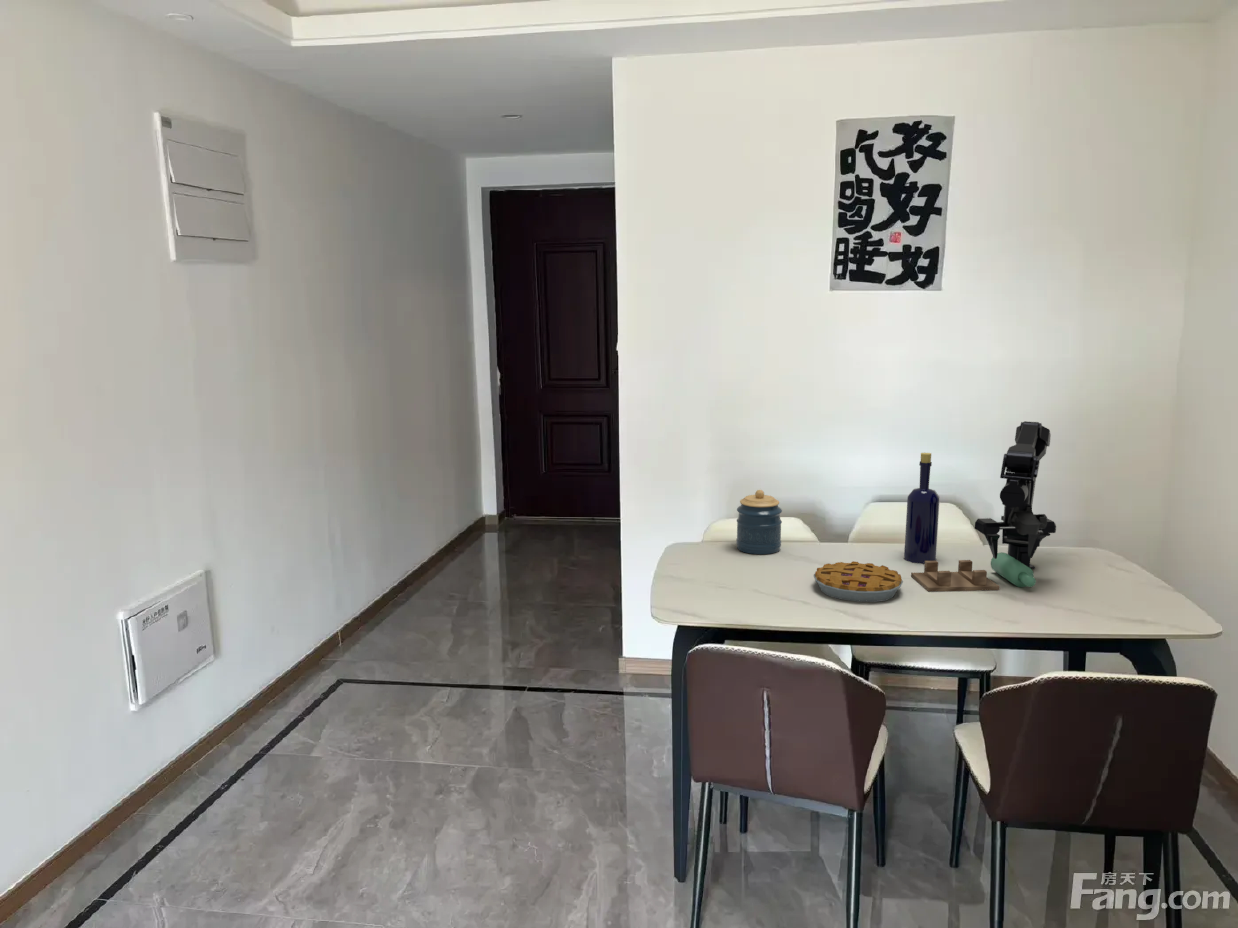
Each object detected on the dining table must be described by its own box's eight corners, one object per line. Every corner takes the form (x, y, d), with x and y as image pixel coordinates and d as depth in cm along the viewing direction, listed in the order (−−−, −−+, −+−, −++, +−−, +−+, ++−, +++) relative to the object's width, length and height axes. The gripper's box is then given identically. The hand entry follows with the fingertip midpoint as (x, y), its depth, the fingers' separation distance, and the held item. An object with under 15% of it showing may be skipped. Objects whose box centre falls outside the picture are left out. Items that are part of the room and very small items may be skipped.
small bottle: (989, 571, 236) (992, 551, 235) (1009, 573, 236) (1013, 553, 235) (1017, 591, 220) (1021, 570, 219) (1039, 593, 220) (1043, 571, 219)
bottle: (942, 563, 243) (948, 456, 238) (908, 563, 244) (914, 456, 238) (931, 554, 252) (937, 450, 247) (898, 554, 253) (904, 450, 247)
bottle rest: (928, 591, 221) (929, 574, 220) (911, 576, 233) (912, 559, 232) (999, 589, 222) (1000, 572, 221) (978, 574, 234) (979, 558, 233)
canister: (787, 546, 261) (789, 488, 258) (770, 557, 250) (772, 496, 247) (747, 540, 268) (748, 483, 265) (728, 551, 257) (729, 491, 254)
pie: (901, 579, 231) (902, 561, 230) (904, 608, 210) (905, 588, 209) (815, 573, 237) (816, 555, 236) (810, 600, 216) (810, 581, 215)
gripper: (995, 507, 217) (990, 568, 220) (1070, 505, 218) (1064, 566, 221) (975, 496, 228) (971, 555, 231) (1047, 495, 229) (1042, 553, 232)
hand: (1012, 557), depth 228 cm, fingers open, 9 cm apart
